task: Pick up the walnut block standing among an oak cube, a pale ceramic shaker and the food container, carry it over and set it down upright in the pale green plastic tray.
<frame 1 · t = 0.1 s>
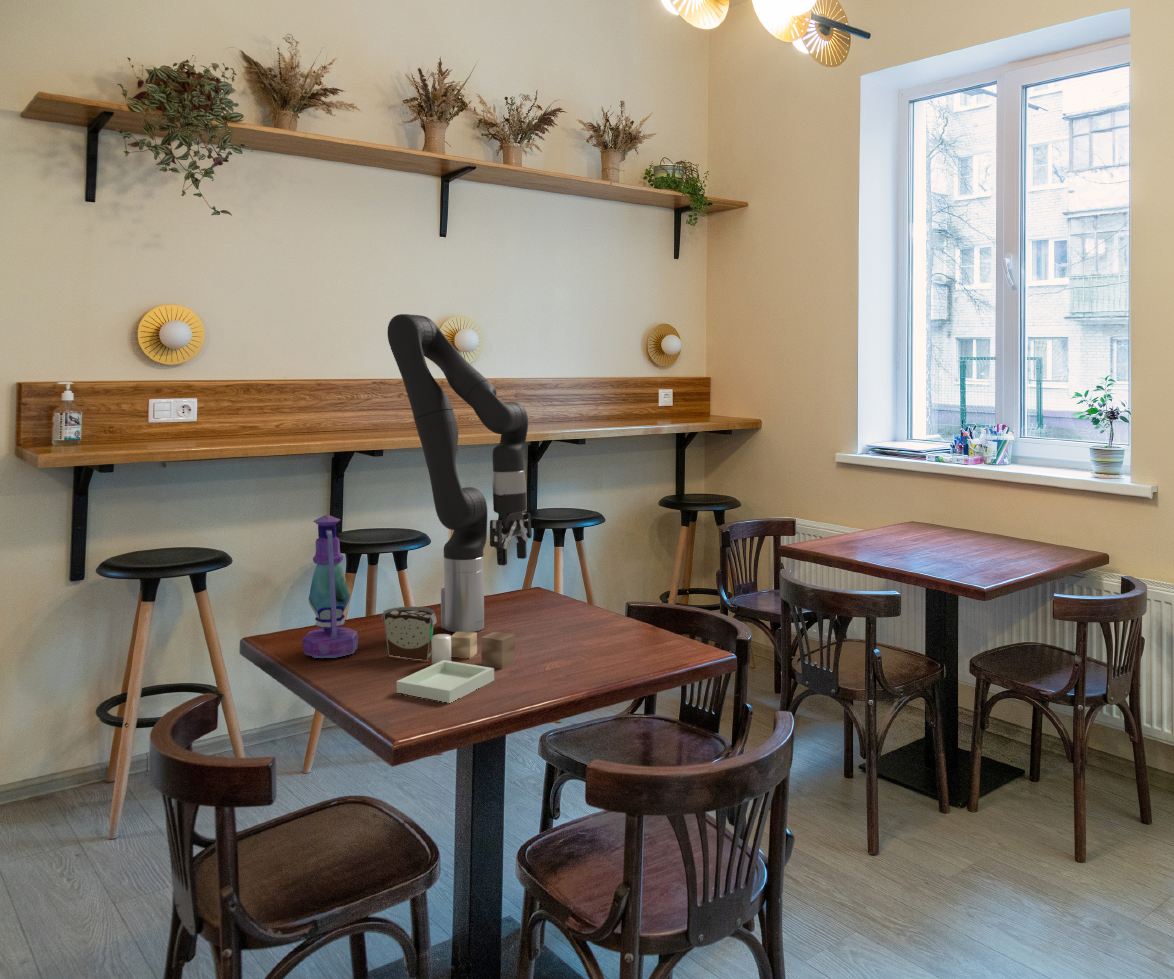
hand: (512, 561, 215), 17 cm above the table, tool pointing down, fingers open, 8 cm apart
tray: (446, 686, 181), on the table
food container: (415, 656, 202), on the table
lantern: (331, 654, 203), on the table
ceramic shaker: (441, 665, 195), on the table
oak cube: (463, 655, 202), on the table
walnut block: (498, 664, 196), on the table
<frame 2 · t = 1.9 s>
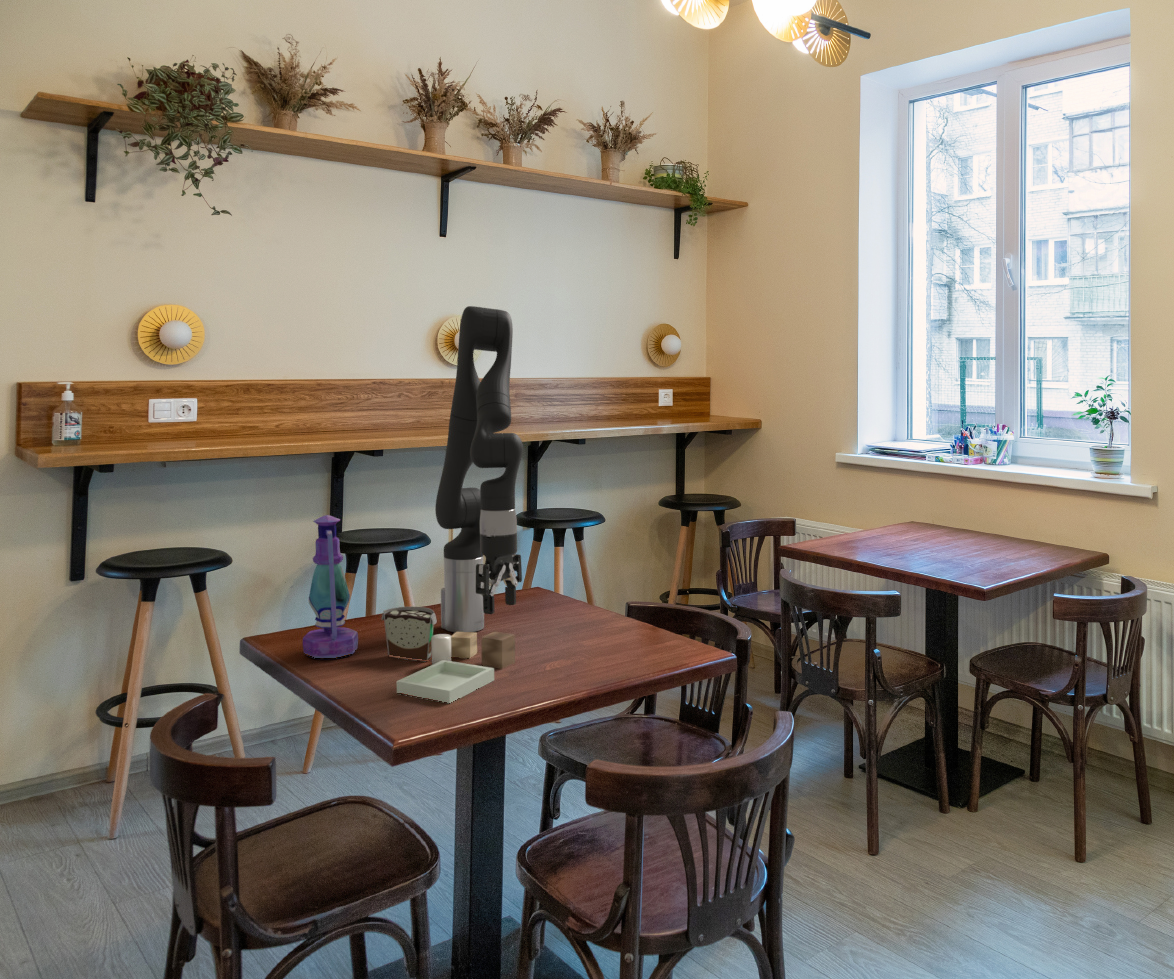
hand: (500, 609, 194), 12 cm above the table, tool pointing down, fingers open, 8 cm apart
nothing on the table moved.
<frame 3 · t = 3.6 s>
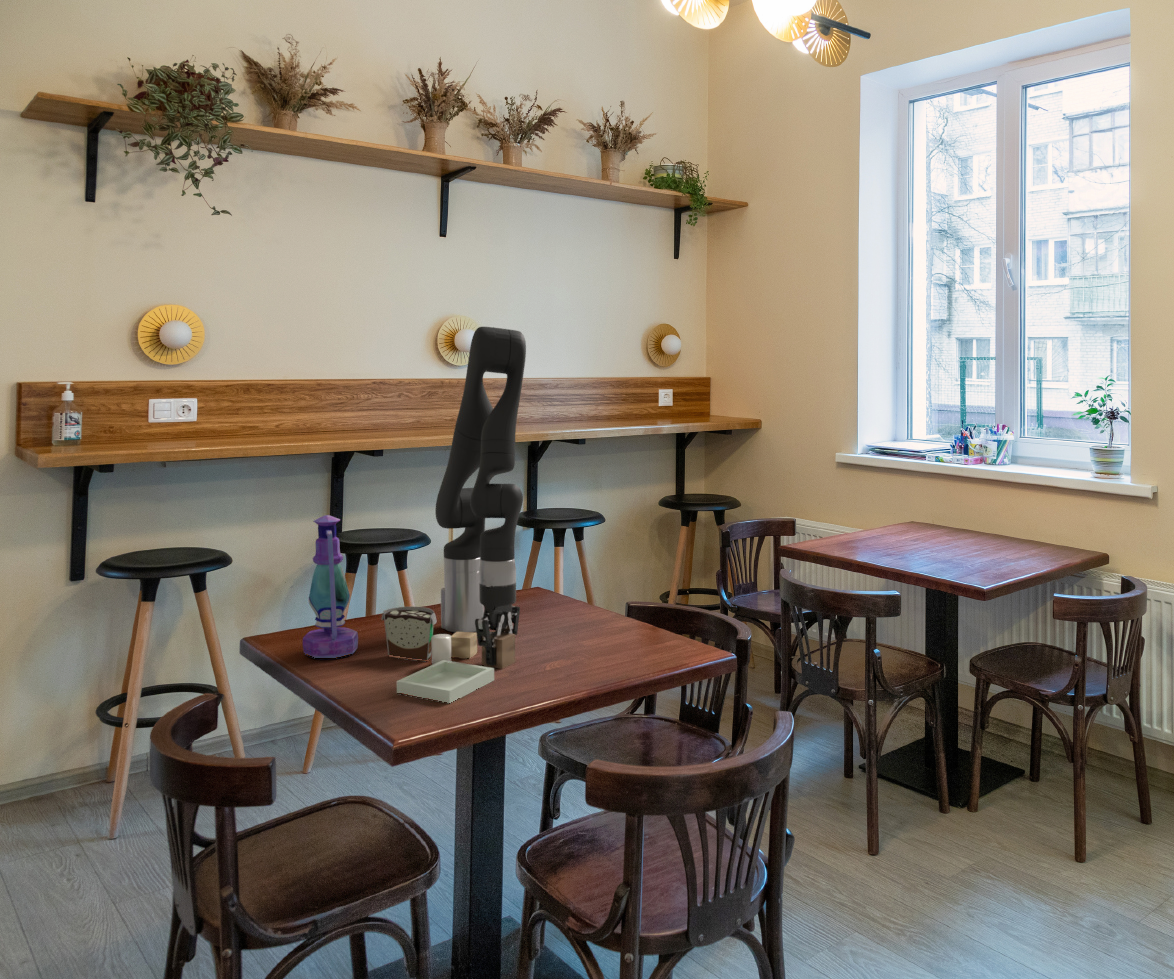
hand: (498, 660, 196), 1 cm above the table, tool pointing down, fingers closed on walnut block, 5 cm apart
walnut block: (498, 663, 196), on the table, touching gripper
everything else where it was.
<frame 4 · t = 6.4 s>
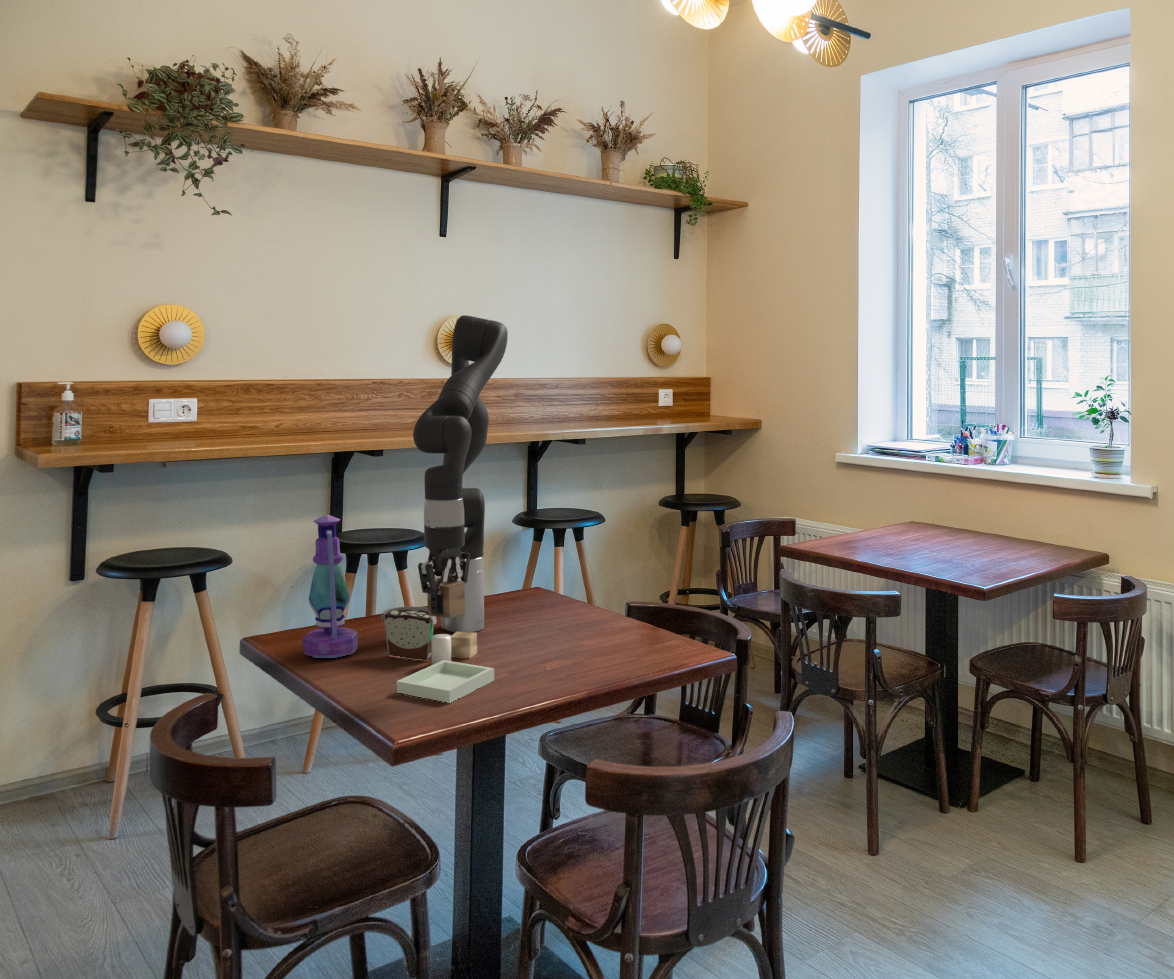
hand: (445, 610, 179), 15 cm above the table, tool pointing down, fingers closed on walnut block, 5 cm apart
walnut block: (446, 613, 179), point 14 cm above the table, touching gripper
everything else where it was.
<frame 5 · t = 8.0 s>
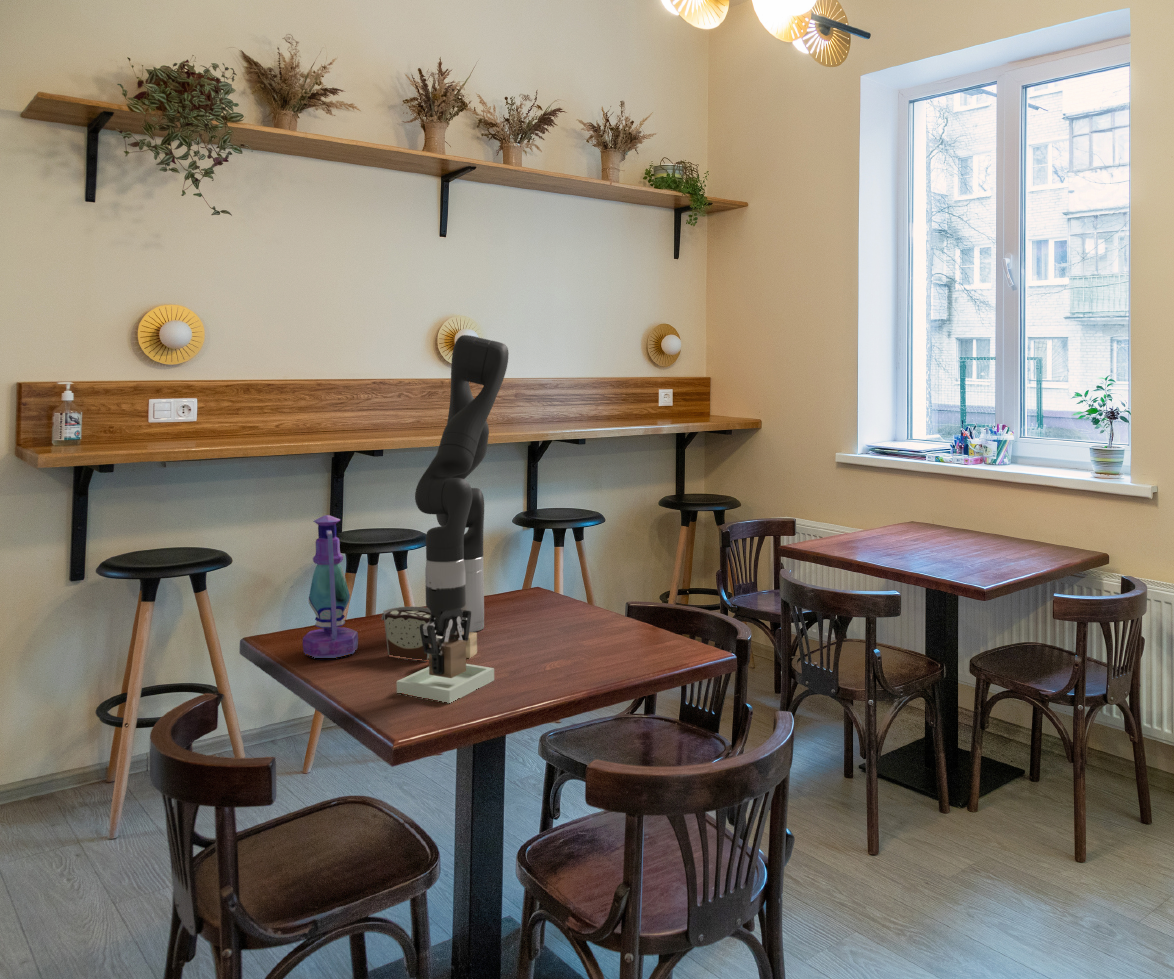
hand: (447, 669, 181), 3 cm above the table, tool pointing down, fingers closed on walnut block, 5 cm apart
walnut block: (447, 672, 181), point 3 cm above the table, touching gripper
everything else where it was.
when the fingers open (3 cm above the table, at t = 9.0 s): walnut block drops 1 cm, resting on tray.
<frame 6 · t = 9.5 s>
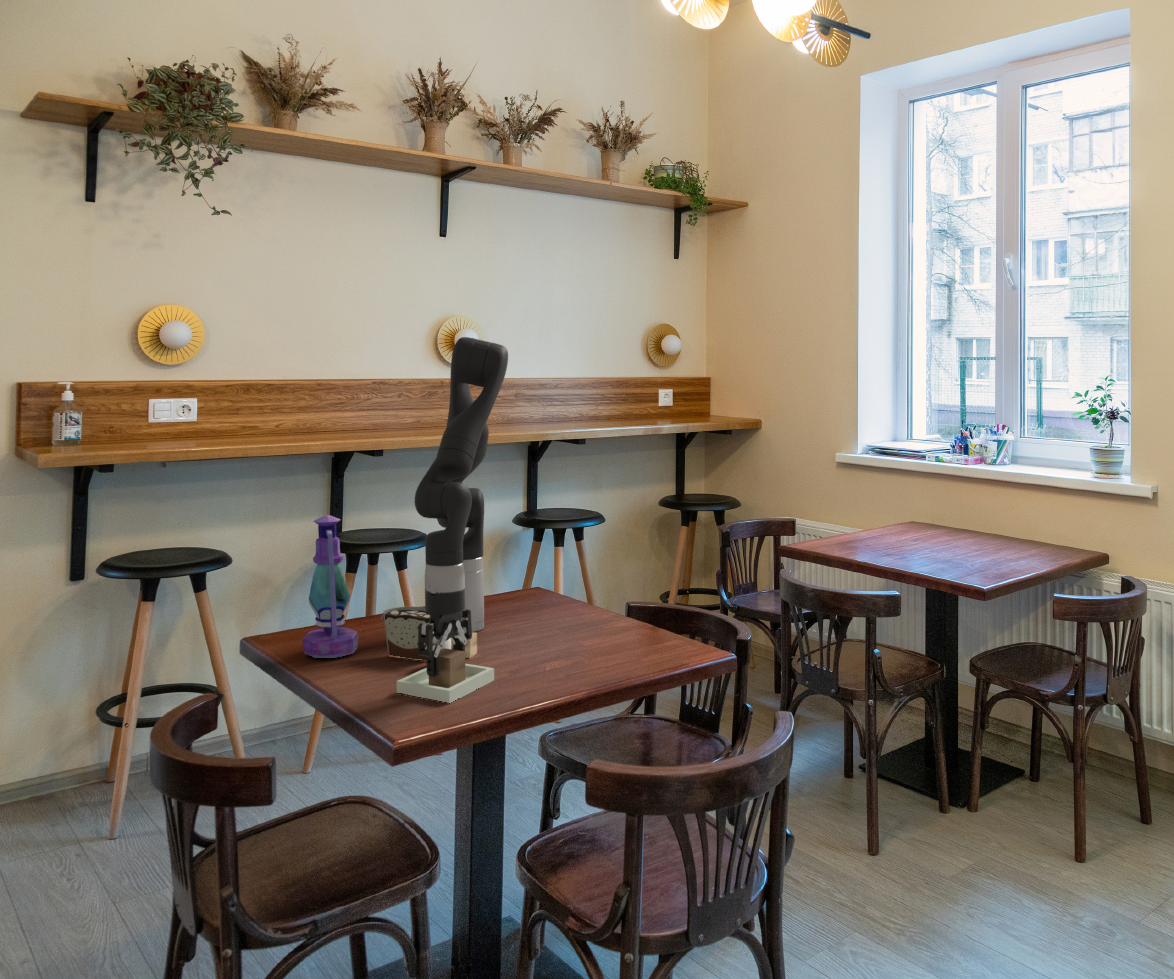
hand: (446, 669, 181), 3 cm above the table, tool pointing down, fingers open, 8 cm apart
walnut block: (447, 683, 181), point 1 cm above the table, touching tray
everything else where it was.
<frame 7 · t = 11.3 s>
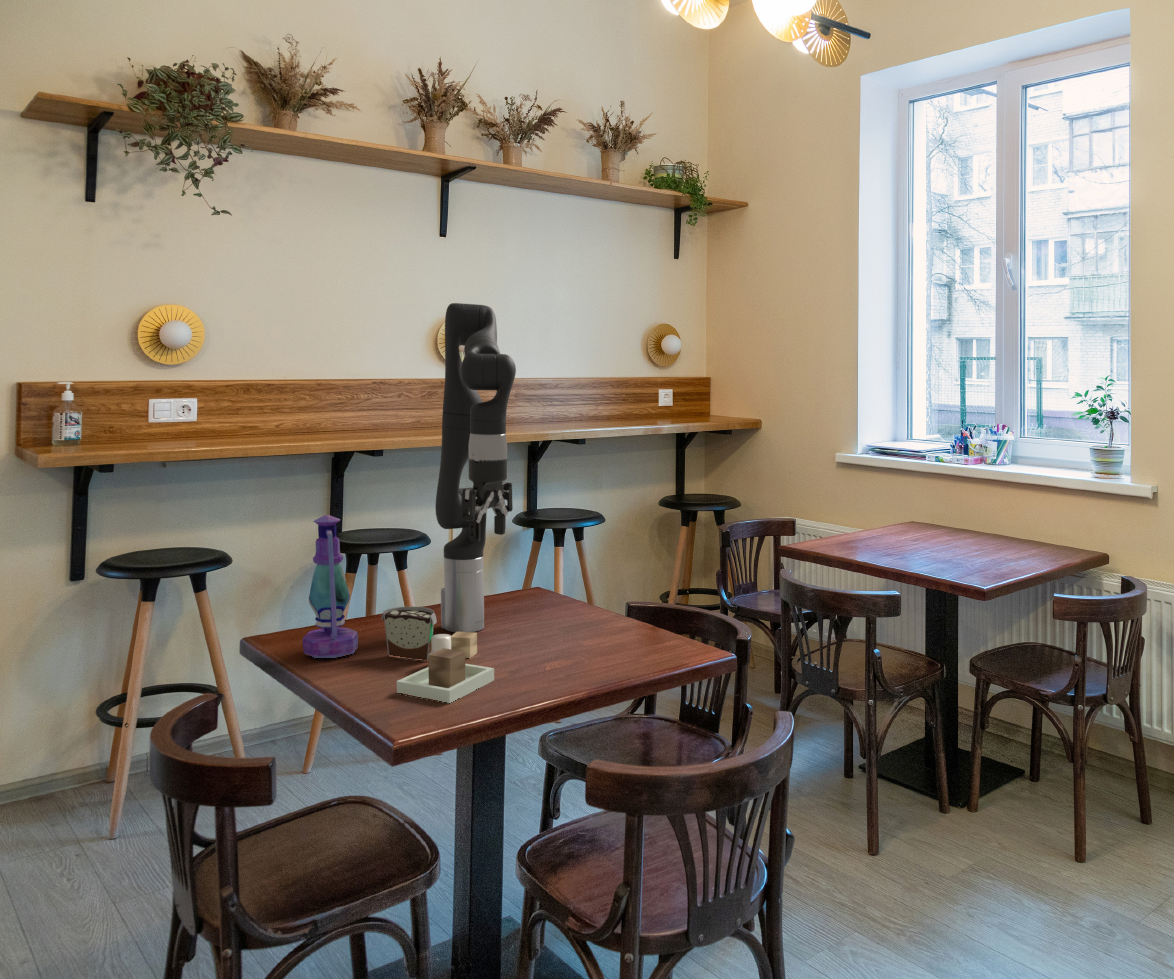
hand: (487, 537, 188), 27 cm above the table, tool pointing down, fingers open, 8 cm apart
nothing on the table moved.
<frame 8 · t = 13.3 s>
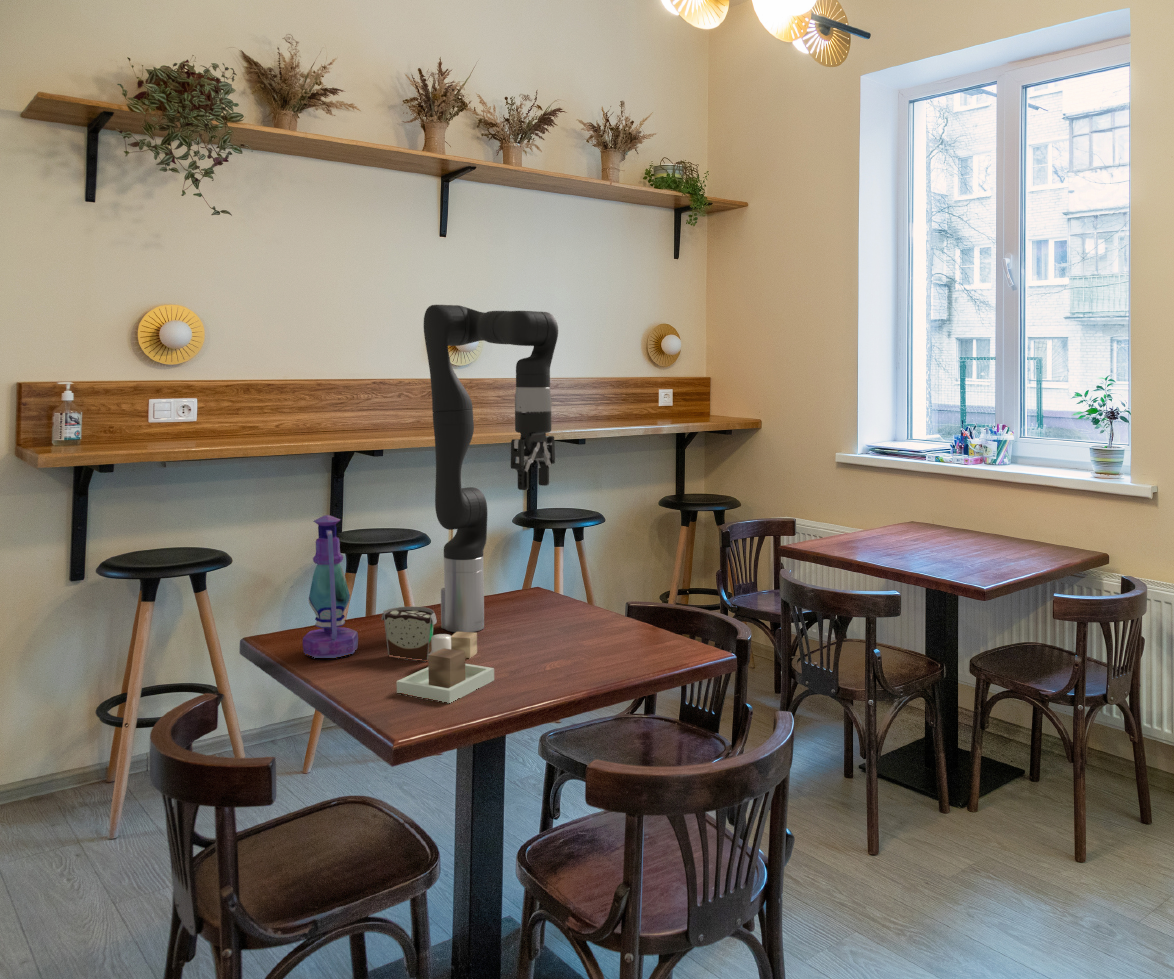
hand: (533, 487, 197), 36 cm above the table, tool pointing down, fingers open, 8 cm apart
nothing on the table moved.
at the end: walnut block inside the target area on the tray (0.1 cm from its centre), point 0.6 cm above the tray's base; walnut block tilted 0°; the gripper is holding nothing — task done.
